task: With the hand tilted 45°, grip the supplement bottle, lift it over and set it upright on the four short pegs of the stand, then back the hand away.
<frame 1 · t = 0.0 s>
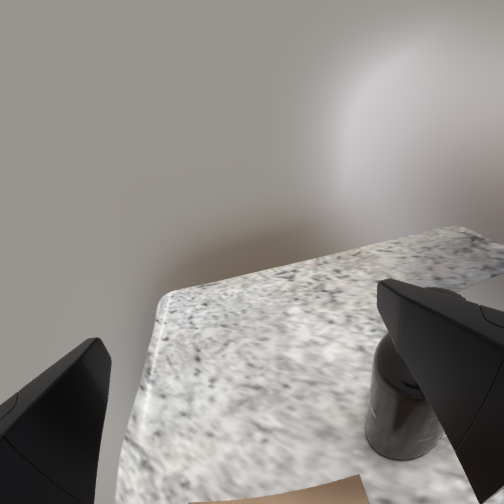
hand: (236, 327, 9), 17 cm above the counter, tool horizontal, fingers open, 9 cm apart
supplement bottle: (404, 428, 19), on the counter
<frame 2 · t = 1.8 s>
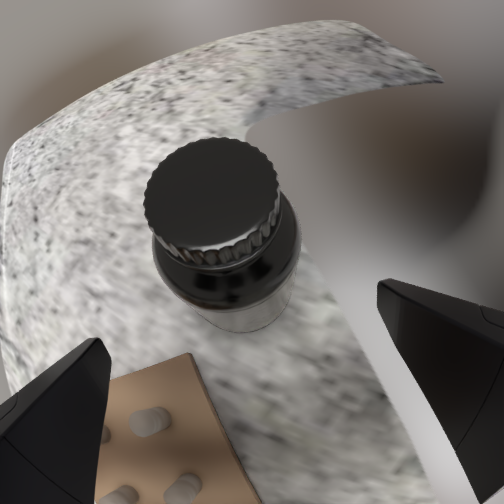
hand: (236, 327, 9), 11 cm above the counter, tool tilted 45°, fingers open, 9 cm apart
supplement bottle: (242, 287, 21), on the counter
peg stand: (148, 456, 16), on the counter
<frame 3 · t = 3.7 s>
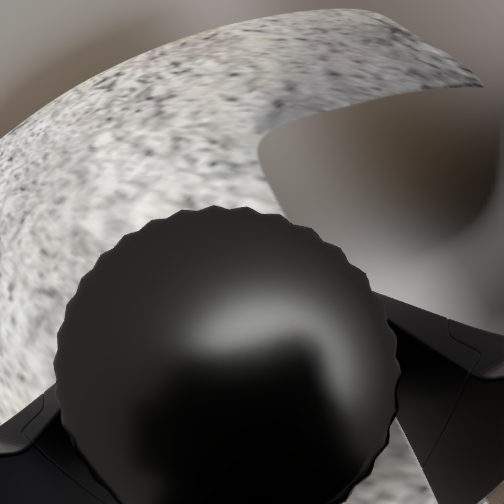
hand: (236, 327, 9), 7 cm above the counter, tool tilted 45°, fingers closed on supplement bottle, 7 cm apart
supplement bottle: (257, 372, 14), on the counter, touching gripper
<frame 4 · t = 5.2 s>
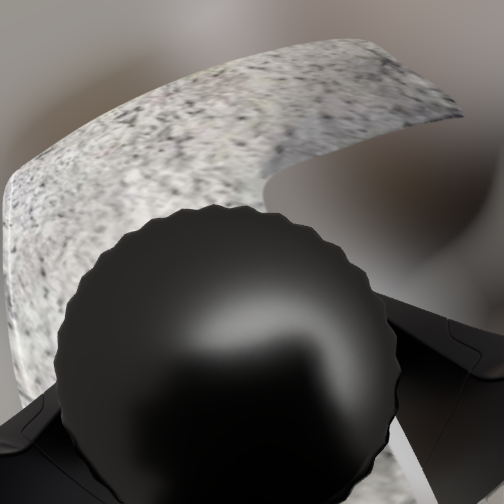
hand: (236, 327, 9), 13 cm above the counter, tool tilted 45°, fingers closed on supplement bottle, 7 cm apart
supplement bottle: (257, 371, 14), point 6 cm above the counter, touching gripper
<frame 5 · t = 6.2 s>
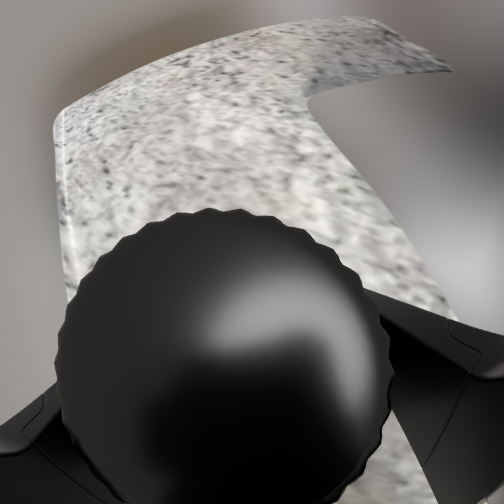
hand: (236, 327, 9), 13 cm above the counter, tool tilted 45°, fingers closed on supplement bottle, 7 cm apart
supplement bottle: (261, 371, 15), point 6 cm above the counter, touching gripper
when the fingers open (12 cm above the counter, at t = 7.1 s): supplement bottle drops 1 cm, resting on peg stand.
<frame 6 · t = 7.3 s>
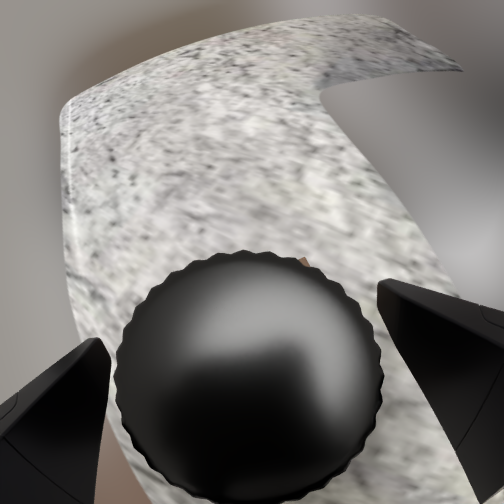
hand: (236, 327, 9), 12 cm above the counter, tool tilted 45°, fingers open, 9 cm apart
supplement bottle: (263, 373, 16), point 4 cm above the counter, touching peg stand
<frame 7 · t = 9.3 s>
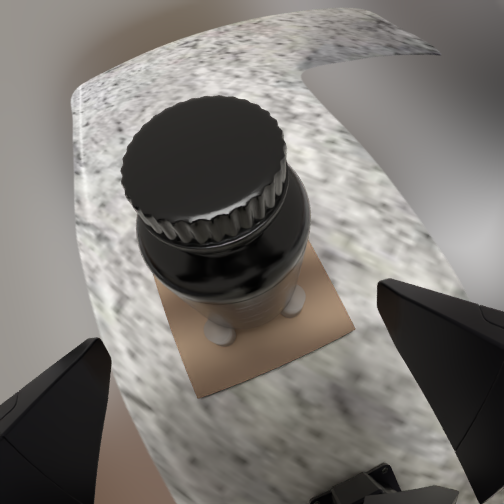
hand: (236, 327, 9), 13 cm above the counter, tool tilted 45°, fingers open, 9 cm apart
supplement bottle: (242, 279, 19), point 4 cm above the counter, touching peg stand
peg stand: (244, 293, 23), on the counter
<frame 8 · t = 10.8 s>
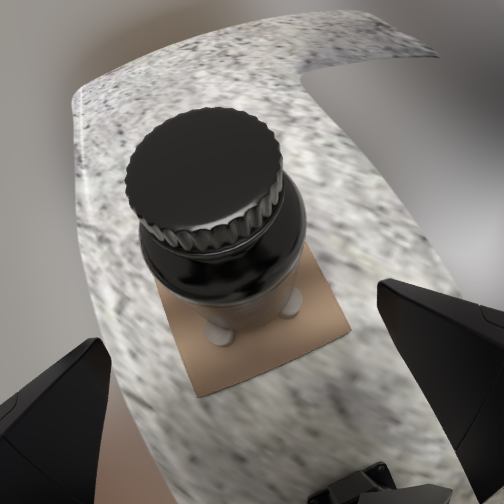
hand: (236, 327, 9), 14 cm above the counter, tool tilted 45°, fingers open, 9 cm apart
supplement bottle: (241, 281, 20), point 4 cm above the counter, touching peg stand
peg stand: (243, 295, 23), on the counter
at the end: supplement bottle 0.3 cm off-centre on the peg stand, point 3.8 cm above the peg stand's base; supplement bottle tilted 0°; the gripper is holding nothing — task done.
